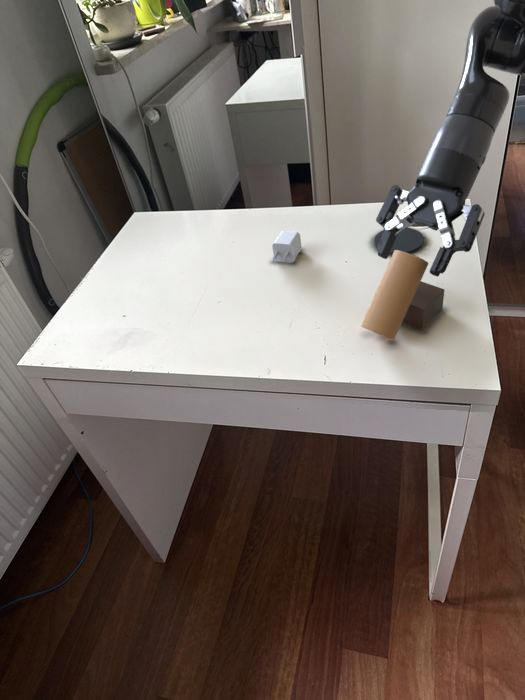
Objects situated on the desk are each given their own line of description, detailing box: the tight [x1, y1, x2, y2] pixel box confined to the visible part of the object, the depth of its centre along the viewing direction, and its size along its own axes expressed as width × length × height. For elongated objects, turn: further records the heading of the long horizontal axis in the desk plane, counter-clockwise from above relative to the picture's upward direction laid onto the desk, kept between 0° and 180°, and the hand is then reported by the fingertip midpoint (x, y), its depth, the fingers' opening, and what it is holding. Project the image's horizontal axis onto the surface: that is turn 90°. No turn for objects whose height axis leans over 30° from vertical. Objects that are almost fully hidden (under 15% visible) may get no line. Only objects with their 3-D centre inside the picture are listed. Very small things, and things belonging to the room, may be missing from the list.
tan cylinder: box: [360, 250, 429, 341], centre depth 76 cm, size 12×5×12 cm, turn 137°
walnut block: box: [402, 280, 445, 331], centre depth 81 cm, size 6×8×4 cm
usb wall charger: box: [271, 230, 302, 264], centre depth 97 cm, size 4×7×4 cm, turn 158°
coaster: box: [373, 227, 425, 256], centre depth 97 cm, size 9×9×1 cm
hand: (407, 265), depth 75 cm, fingers open, 8 cm apart
